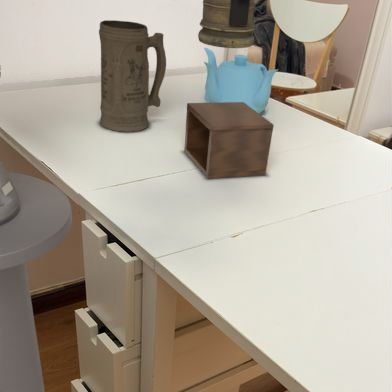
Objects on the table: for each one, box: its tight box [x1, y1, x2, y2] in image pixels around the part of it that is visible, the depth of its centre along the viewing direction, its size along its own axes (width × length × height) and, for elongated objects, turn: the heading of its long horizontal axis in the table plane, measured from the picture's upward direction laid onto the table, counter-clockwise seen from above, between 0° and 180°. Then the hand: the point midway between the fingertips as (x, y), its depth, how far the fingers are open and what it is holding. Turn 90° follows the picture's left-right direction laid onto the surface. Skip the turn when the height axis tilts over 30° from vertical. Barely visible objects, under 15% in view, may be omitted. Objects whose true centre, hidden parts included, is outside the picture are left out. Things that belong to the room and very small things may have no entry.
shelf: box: [184, 102, 275, 180], centre depth 103 cm, size 12×14×10 cm
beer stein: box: [98, 19, 167, 133], centre depth 114 cm, size 15×11×20 cm
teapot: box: [203, 47, 279, 115], centre depth 131 cm, size 17×19×12 cm
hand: (227, 19), depth 83 cm, fingers closed on container, 8 cm apart
